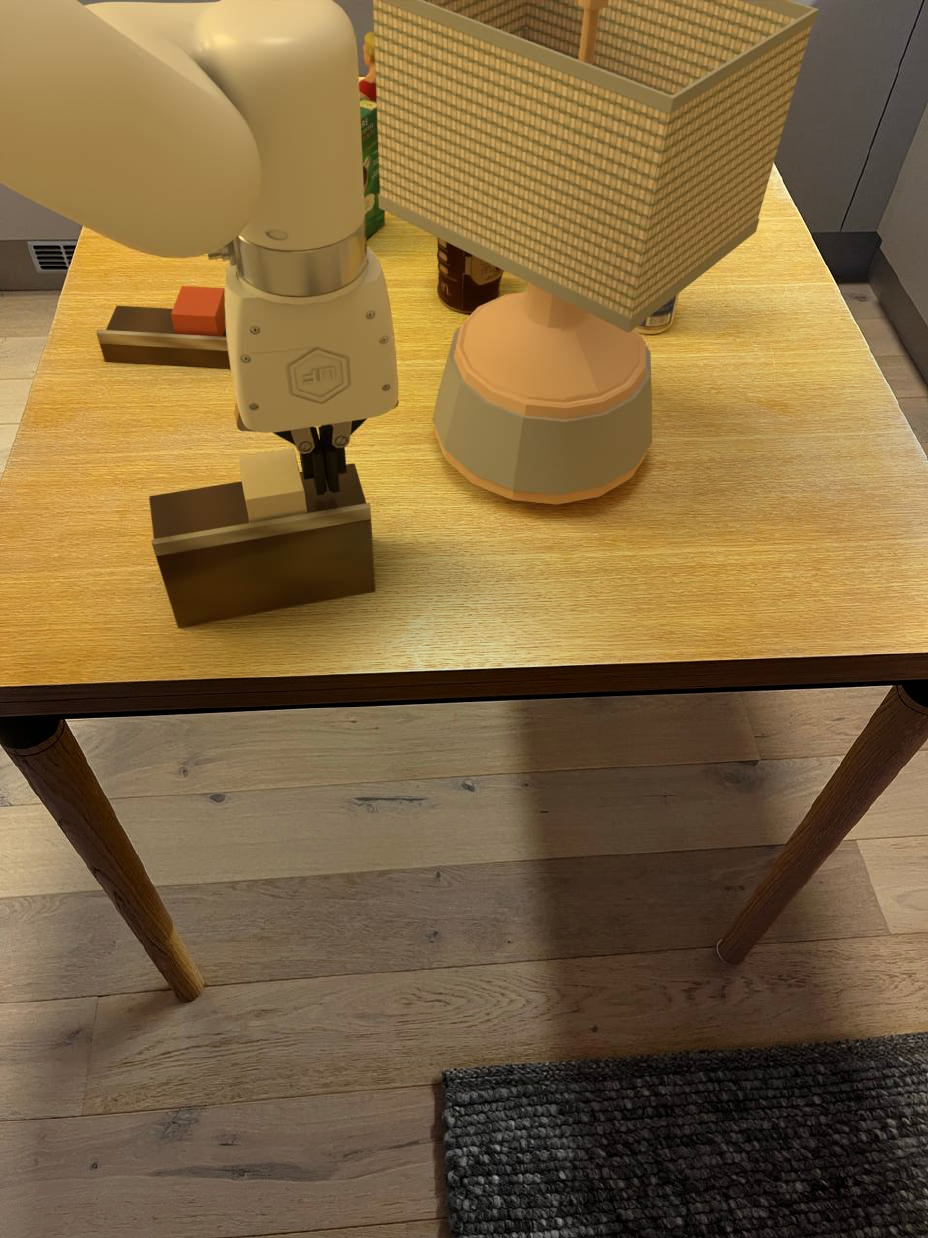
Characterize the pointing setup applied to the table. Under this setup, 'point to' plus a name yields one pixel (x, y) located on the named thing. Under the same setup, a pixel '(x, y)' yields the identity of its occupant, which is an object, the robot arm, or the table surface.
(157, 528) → the counter front
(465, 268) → the coffee cup
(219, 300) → the red cube block
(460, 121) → the desk lamp
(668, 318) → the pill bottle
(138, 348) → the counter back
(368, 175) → the coffee box
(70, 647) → the table surface
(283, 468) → the tan block
